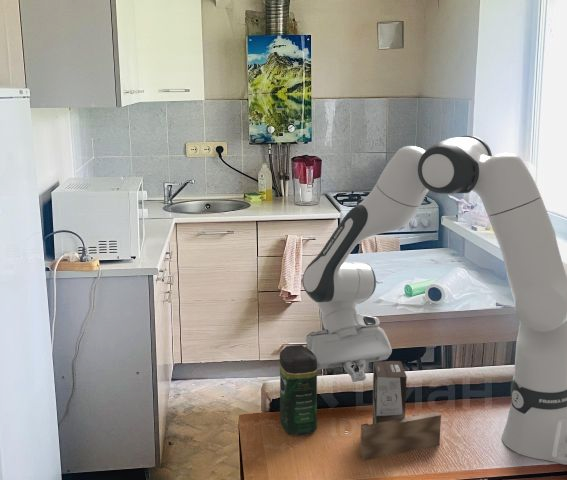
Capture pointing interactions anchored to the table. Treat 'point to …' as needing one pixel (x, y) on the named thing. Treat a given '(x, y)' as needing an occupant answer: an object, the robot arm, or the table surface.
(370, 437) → the keeper bracket
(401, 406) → the coffee box
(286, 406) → the coffee jar
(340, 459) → the table surface
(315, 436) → the table surface
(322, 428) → the table surface
